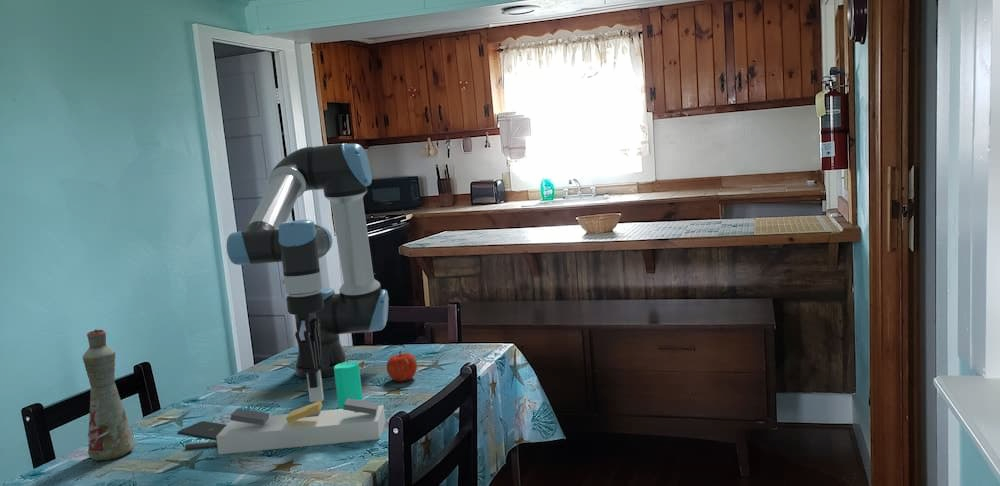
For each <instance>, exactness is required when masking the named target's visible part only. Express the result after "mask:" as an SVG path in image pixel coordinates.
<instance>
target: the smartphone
mask: <svg viewBox="0 0 1000 486" xmlns="http://www.w3.org/2000/svg"><path fill="white" fill-rule="evenodd" d="M226 425H227V424H226V423H225V424H224V423H219V422H211V421H203V420H202V421H198V422H196V423H194V424H192V425H188V426H187V427H185V428H182V429H180V430H178V431H177V434H178V435H183V436H188V437H195V438H200V439H206V440H211V441H217V438H216V436H217V435H218V434H219V433H220V432H221V431H222V430H223V428H224V427H225V426H226Z"/></svg>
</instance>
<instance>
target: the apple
mask: <svg viewBox="0 0 1000 486" xmlns="http://www.w3.org/2000/svg"><path fill="white" fill-rule="evenodd" d="M417 368H418V363H417V360H416V358H415V356H414V355H413V354H412V353H408V352H407V353H402V351H401V350H400V351H399V354H397V355H393V356H391V357H390V358H389V359H388V360H387V363H386V373H387V374H388V376H389V378H391V379H392V381H395V382H399V383H402V382H407V381H410V380H411V379H413V378H414V376H415V374H416V372H417Z"/></svg>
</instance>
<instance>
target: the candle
mask: <svg viewBox="0 0 1000 486" xmlns="http://www.w3.org/2000/svg"><path fill="white" fill-rule="evenodd" d="M345 361H346V359H345ZM334 374H335V375H334V382H335V390H336V399H337V407H338V408H337V409H343V408H344V403H345V402H346V400H347V398H350V399H356V400H362V401H364V398H363V388H362V381H361V380H362V379H361V371H360V365H359V362H357V361H353V362H351V361H348V362H343V363H340V364H337V365H335V367H334Z"/></svg>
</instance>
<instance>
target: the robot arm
mask: <svg viewBox="0 0 1000 486" xmlns="http://www.w3.org/2000/svg"><path fill="white" fill-rule="evenodd" d="M372 182H373V177H372V168H371V164H370V160H369V157H368V156H367V152H366V151H365V149H364V147H363V146H362V145H361V144H360V143H359V144H358V143H336V144H329V145H317V146H307V147H302V148H300V149H296V150H295V151H293V152H291V153H290V154H288V155H286V156H285V157H284V158H282V159H281V160H280V161H279V162H278V163H277V164H276V165H275V166H274V168H273V169H272V171H271V173H270V174H269V177H268V187H267V189H266V191H265V193H264V195H263V196H262V198H261V200H260V202H259V204H258V206H257V208H256V210H255V212H254V213H253V215H252V217H251V219H250V221H249V223H248V225H247V227H245V229H244V231H242V230H238V231H236V232H232V233H230V234H229V235H228V237H227V239H226V253H227V256H228V258H229V260H230V262H231V263H232V264H234V265H236V266H243V265H244V266H245V265H248V266H252V265H260V264H270V263H279V262H280V263H281V264H282V272H283V278H284V279H282V280H281V283H282V284H284V288H285V293H286V294H287V296H286V297H285V298H286V299H285V300H286V307H287V313H288V314H290V315H294V319H295V320H294V321H295V327H296V331H295V332H294V333H295V335H294V336H295V338H296V342H297V345H298V350H297V356H296V360H295V364H294V365H295V366H294V371H295V373H294V374H295V376H296V377H298V378H301V379H306V381H307V390H308V396H309V402H310V403H315V402H318V401H321V402H323V401H324V399H325V398H324V388H323V379H322V378H326V377H327V378H328V377H331V376H335V374H334V367H335V365H337V364H340V363H343V362H349V359H348V356H347V354H346V352H345V350H344V348H343V346H342V344H341V340H340V335H345V334H356V333H359V334H361V333H371V332H377V331H378V332H379V331H382V330H383V329H385V327H386V325H387V323H388V322H387V321H388V316H389V315H388V314H389V293H388V290H386V289H385V288H384V289H381V288H382V287H381V282H379V281H378V280H377V279H375V277H374V276H375V275H374V270H373V269H374V268H373V263H372V262H373V261H372V254H371V247H370V241H369V233H368V232H369V231H368V225H367V219H366V213H365V205H364V197H365V195H366V194H367V193H368V186H370V185H371V184H372ZM318 190H319V191H320V190H323V195H324V198H325V199H327V200H328V201H329V202H330V203H331V210H332V216H333V223H334V230H335V235H336V236H335V237H336V243H337V248H338V256H339V261H340V268H341V275H342V280H343V284H342V285H341V286H340V287H339V290H338V291H339V293H336V291H335V290H334V288H323V283H322V275H321V269H320V258H322V257H324V256H325V255H327V253H328V252H330V250H331V248H332V245H333V237H332V234H331V232H330V231H329V229H328V228H327V227H325V226H323V225H321V224H315V222H314V221H313V220H311V219H299V220H298V219H297V220H290V221H288V219H289V217H290V215H291V213H292V211H293V207H294V205H295V203H296V201H297V199H298V198H301V196H302V195H304V193H305V192H306V191H307V192H308V191H318ZM345 359H346V361H345Z"/></svg>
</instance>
